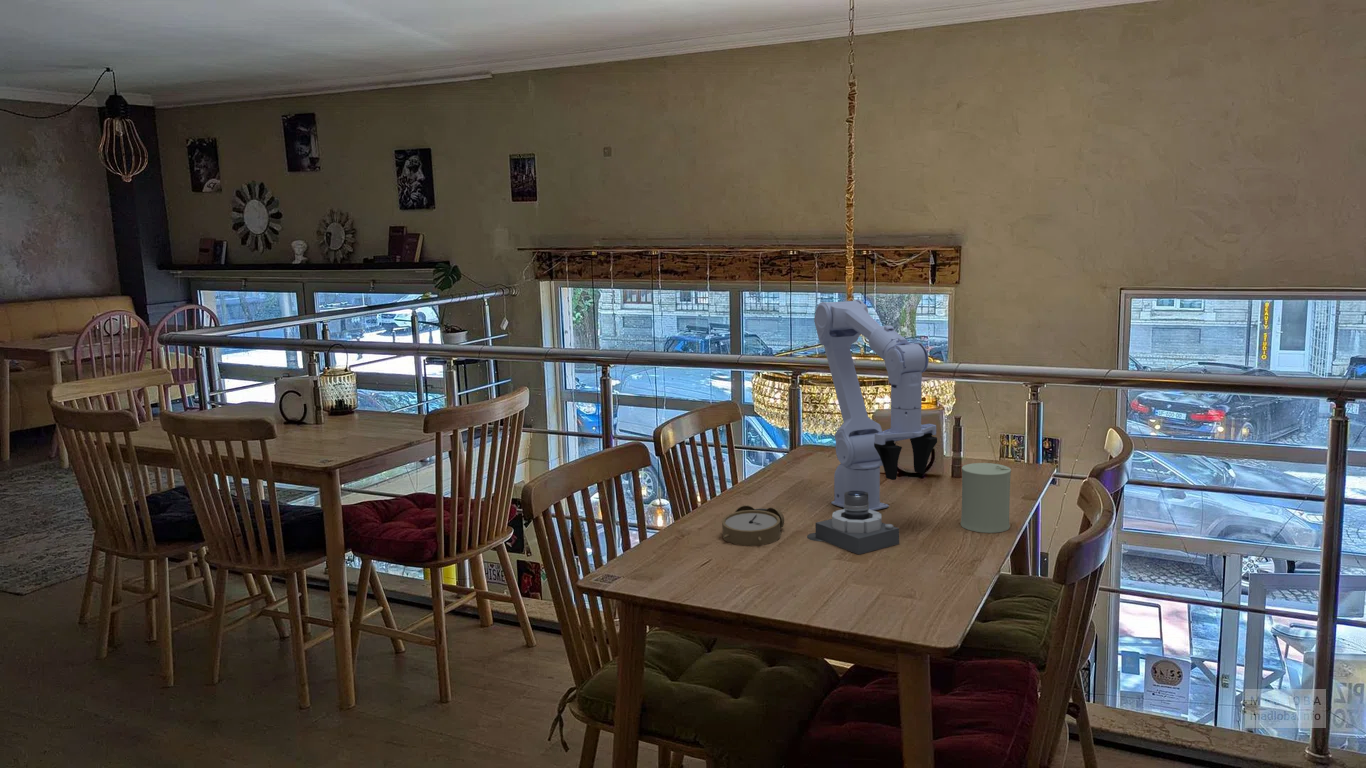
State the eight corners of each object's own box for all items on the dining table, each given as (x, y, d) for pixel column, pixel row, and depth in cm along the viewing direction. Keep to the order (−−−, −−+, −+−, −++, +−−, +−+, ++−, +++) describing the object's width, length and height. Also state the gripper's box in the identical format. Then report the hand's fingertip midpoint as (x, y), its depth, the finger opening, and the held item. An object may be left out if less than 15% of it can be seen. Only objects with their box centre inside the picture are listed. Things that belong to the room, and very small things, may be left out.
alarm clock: (713, 529, 183) (737, 495, 196) (715, 552, 185) (739, 517, 198) (770, 534, 179) (791, 499, 192) (771, 558, 180) (793, 521, 193)
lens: (847, 529, 180) (846, 496, 179) (841, 521, 184) (841, 490, 183) (871, 527, 180) (871, 495, 179) (865, 520, 185) (865, 489, 184)
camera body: (815, 537, 185) (815, 512, 184) (855, 528, 190) (855, 503, 189) (858, 554, 175) (858, 527, 174) (899, 543, 180) (899, 517, 179)
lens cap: (801, 539, 186) (801, 535, 186) (822, 534, 189) (822, 530, 189) (818, 546, 182) (818, 542, 182) (840, 541, 184) (840, 537, 184)
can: (1012, 534, 184) (1014, 472, 182) (962, 532, 186) (963, 471, 184) (1006, 519, 193) (1008, 460, 191) (958, 518, 195) (959, 459, 193)
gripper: (893, 414, 179) (892, 486, 181) (948, 405, 186) (947, 473, 188) (866, 409, 184) (866, 478, 187) (921, 400, 192) (920, 466, 194)
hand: (905, 475), depth 188 cm, fingers open, 7 cm apart
